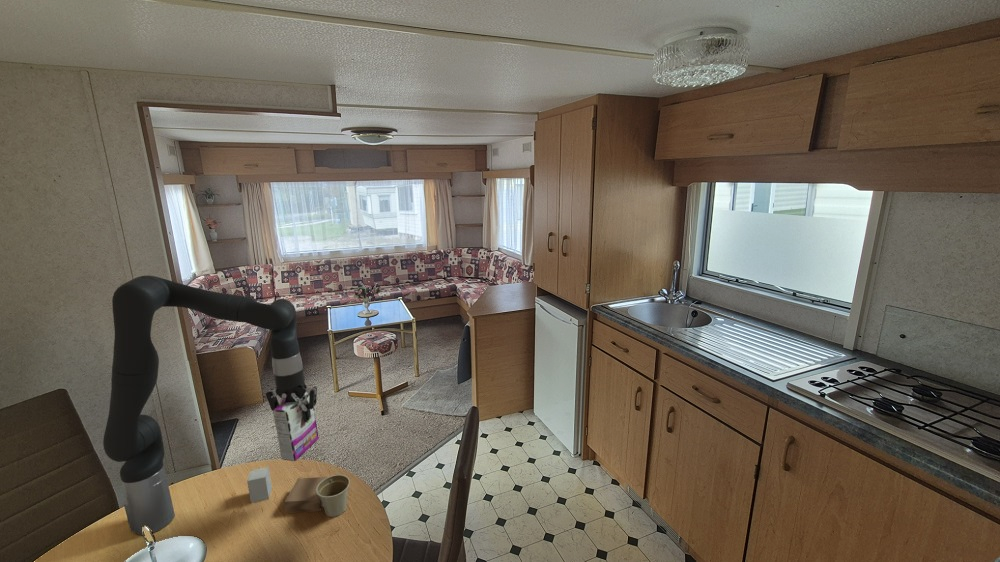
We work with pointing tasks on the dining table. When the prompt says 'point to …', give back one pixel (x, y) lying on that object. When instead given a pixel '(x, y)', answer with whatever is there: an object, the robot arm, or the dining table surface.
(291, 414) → the candy bar box
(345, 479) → the flower pot
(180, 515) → the dining table surface
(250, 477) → the grey block
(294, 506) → the brown square block
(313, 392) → the robot arm
